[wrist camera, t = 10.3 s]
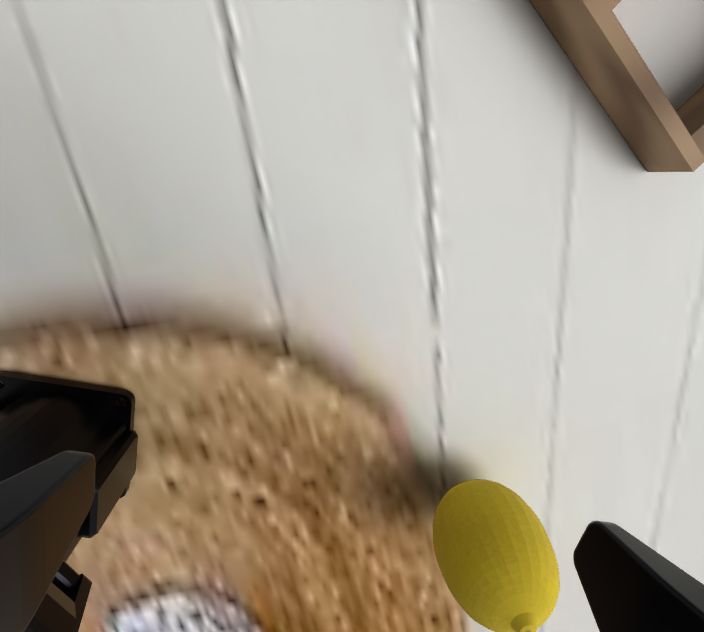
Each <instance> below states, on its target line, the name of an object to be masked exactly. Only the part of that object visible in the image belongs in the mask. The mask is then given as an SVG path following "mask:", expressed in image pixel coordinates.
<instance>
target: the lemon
mask: <svg viewBox="0 0 704 632" xmlns="http://www.w3.org/2000/svg"><path fill="white" fill-rule="evenodd" d="M433 544H434V551H435V555H436V559H437V562H438V564H439V567H440V570H441V572H442V575H443V577H444V579H445V582H446V584H447V586H448V588H449V589H450V591H451V593H452V595H453V596H454V598H455V599H456V601H457V602H458V603H459V605H460V606H461V607H462V608H463V609H464V610H465V612H466V613H467V614H468V615H469V616H470V617H471V618H472V619H473V620H474V621H476V622H478V623H479V624H481V625H483V626H484V627H486V628H488V629H490V630H492V631H495V632H536V630H537V628H538V627H540V626H541V625H542V624H543V623H544V622H545V621H546V620H547V619H548V618H549V616H550V615H551V613H552V611H553V609H554V607H555V605H556V602H557V598H558V594H559V585H560V582H559V570H558V564H557V560H556V557H555V554H554V550H553V548H552V545H551V543H550V541H549V538H548V536H547V534H546V532H545V529H544V527H543V525H542V524H541V522H540V520H539V519H538V517H537V516H536V514H535V513H534V512H533V510H532V509H531V508H530V507H529V506H528V505H527V504H526V503H525V502H524V501H523V500H522V499H521V498H520V497H519V496H518V495H517V494H516V493H515V492H513V491H512V490H510V489H509V488H507V487H505V486H503V485H501V484H499V483H496V482H493V481H489V480H481V479H475V480H469V481H465V482H462V483H459V484H457V485H456V486H454V487H453V488H451V489H450V490H449V491H448V492H447V493H446V494H445V495H444V496H443V498H442V500H441V501H440V503H439V504H438V506H437V509H436V512H435V516H434V520H433Z"/></svg>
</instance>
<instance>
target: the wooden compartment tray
mask: <svg viewBox="0 0 704 632" xmlns="http://www.w3.org/2000/svg"><path fill="white" fill-rule="evenodd" d="M529 1H530V2H531V4H532V5H533V7H534V8H535V10H536V11H537V12H538V14H539V15H540V17H541V18H542V20H543V21H544V23H545V24H546V26H547V27H548V28H549V30H550V31H551V33H552V34H553V36H554V37H555V39H556V40H557V41H558V43H559V44H560V46H561V47H562V49H563V50H564V52H565V53H566V54H567V56H568V57H569V59H570V60H571V62H572V63H573V65H574V66H575V67H576V69H577V70H578V72H579V73H580V75H581V76H582V78H583V79H584V80H585V82H586V83H587V85H588V86H589V88H590V89H591V91H592V92H593V94H594V95H595V96H596V98H597V99H598V101H599V102H600V104H601V105H602V107H603V108H604V109H605V111H606V112H607V114H608V115H609V117H610V118H611V120H612V121H613V122H614V124H615V125H616V127H617V128H618V130H619V131H620V133H621V134H622V135H623V137H624V138H625V140H626V141H627V143H628V144H629V146H630V147H631V149H632V150H633V151H634V153H635V154H636V156H637V157H638V159H639V160H640V162H641V163H642V164H643V166H644V167H645V169H646V170H647V172H693V171H694V170H695V169H697V168H698V167H699V166H700V165H701V164H702V163H703V162H704V86H703V87H702V88H701V89H700V90H699V91H698V92H697V93H696V94H694V95H693V96H692V97H691V98H690V99H689V100H688V101H687V102H686V103H685V104H684V105H683V106H682V107H681V108H679V109H678V110H677V111H675V110H674V108H673V107H672V105H671V104H670V102H669V100H668V99H667V97H666V96H665V94H664V92H663V91H662V89H661V88H660V86H659V84H658V83H657V81H656V80H655V78H654V76H653V75H652V73H651V72H650V70H649V69H648V67H647V65H646V64H645V62H644V61H643V59H642V57H641V56H640V54H639V53H638V51H637V49H636V48H635V46H634V45H633V43H632V42H631V40H630V38H629V37H628V35H627V34H626V32H625V30H624V29H623V27H622V26H621V24H620V22H619V21H618V19H617V18H616V16H615V14H614V13H613V11H612V9H613V8H614V7H615V6H616V5H617V4H618V3H619V2H620V1H621V0H529Z"/></svg>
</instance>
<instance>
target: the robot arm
mask: <svg viewBox="0 0 704 632" xmlns="http://www.w3.org/2000/svg"><path fill="white" fill-rule="evenodd" d="M0 380H1V381H2V382H3V383H4V384H2V383H1V382H0V632H78V630H79V627H80V623H81V620H82V616H83V613H84V609H85V606H86V602H87V599H88V595H89V592H90V588H91V584H92V582H91V581H90V580H89V579H88V578H87V577H86V576H85V575H83V574H80V575H79V574H78V573H77V572H76V571H75V570H73V569H72V568H71V567H70V566H69V565H68V564H67V563H66V561H67V559H68V557H69V556H70V554H71V553H72V551H73V550H74V548H75V547H76V545H77V544H78V542H79V541H80V539H81V538H82V537H85V538H91V537H93V536H94V535H96V534H97V533H98V532H99V530H100V528H101V527H102V525H103V524H104V522H105V520H106V519H107V517H108V516H109V514H110V512H111V511H112V509H113V508H114V506H115V504H116V503H117V501H118V500H119V498H121V497H123V496H124V495H125V494H126V493H127V491H128V489H129V485H130V480H131V479H132V477H133V476H134V474H135V470H136V456H137V442H138V435H137V433H136V431H134V430H133V426H134V411H135V397H134V395H133V394H132V393H131V392H130V391H127V390H122V389H116V388H109V387H103V386H97V385H90V384H84V383H77V382H71V381H64V380H58V379H52V378H45V377H39V376H32V375H26V374H19V373H13V372H6V371H0ZM119 398H122V399H124V400H125V401H126V403H123V402H121V401H120V399H119ZM574 565H575V568H576V570H577V573H578V576H579V578H580V581H581V584H582V586H583V589H584V591H585V594H586V597H587V599H588V602H589V605H590V607H591V610H592V613H593V615H594V618H595V620H596V623H597V626H598V628H599V631H600V632H704V585H703V584H702V583H700V582H699V581H697V580H696V579H695V578H693V577H692V576H690V575H689V574H687V573H686V572H684V571H683V570H682V569H680V568H679V567H677V566H676V565H674V564H673V563H671V562H670V561H669V560H667V559H666V558H664V557H663V556H661V555H660V554H658V553H657V552H656V551H654V550H653V549H651V548H650V547H648V546H647V545H645V544H644V543H643V542H641V541H640V540H638V539H637V538H635V537H634V536H633V535H631V534H630V533H628V532H627V531H625V530H624V529H622V528H621V527H620V526H618V525H616V524H614V523H610V522H602V521H593V522H591V523H590V524H589V525H588V526H587V528H586V530H585V532H584V534H583V535H582V537H581V539H580V541H579V543H578V545H577V547H576V548H575V551H574Z"/></svg>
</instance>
